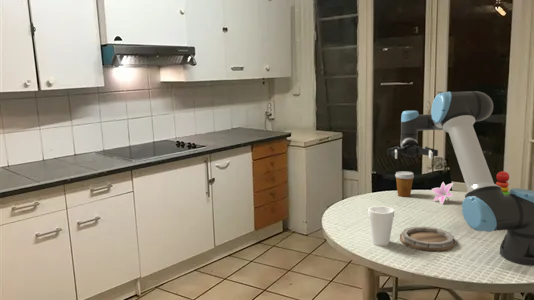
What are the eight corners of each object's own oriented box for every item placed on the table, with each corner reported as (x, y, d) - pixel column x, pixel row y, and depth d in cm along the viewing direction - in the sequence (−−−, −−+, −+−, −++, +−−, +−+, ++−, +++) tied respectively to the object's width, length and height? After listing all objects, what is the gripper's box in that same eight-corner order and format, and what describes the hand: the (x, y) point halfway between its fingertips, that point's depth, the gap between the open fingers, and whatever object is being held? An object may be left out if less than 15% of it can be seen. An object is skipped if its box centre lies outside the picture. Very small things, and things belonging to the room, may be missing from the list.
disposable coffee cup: (416, 195, 228) (417, 172, 226) (408, 199, 221) (409, 176, 219) (399, 192, 234) (400, 170, 232) (391, 195, 227) (391, 173, 225)
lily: (431, 199, 223) (425, 185, 219) (453, 191, 220) (448, 176, 216) (439, 213, 212) (433, 198, 208) (463, 204, 210) (458, 189, 206)
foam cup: (388, 249, 158) (389, 214, 156) (364, 244, 163) (364, 211, 161) (396, 240, 166) (397, 207, 164) (372, 236, 171) (373, 204, 169)
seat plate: (467, 244, 161) (468, 238, 160) (429, 255, 152) (429, 249, 151) (425, 228, 178) (425, 222, 178) (388, 237, 169) (388, 231, 169)
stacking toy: (512, 215, 192) (515, 173, 189) (493, 214, 194) (496, 173, 191) (506, 209, 200) (509, 169, 197) (488, 209, 202) (490, 169, 198)
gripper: (439, 156, 194) (446, 165, 173) (381, 154, 200) (381, 164, 180) (440, 139, 192) (447, 147, 172) (381, 138, 199) (382, 146, 178)
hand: (413, 155), depth 176 cm, fingers open, 13 cm apart
